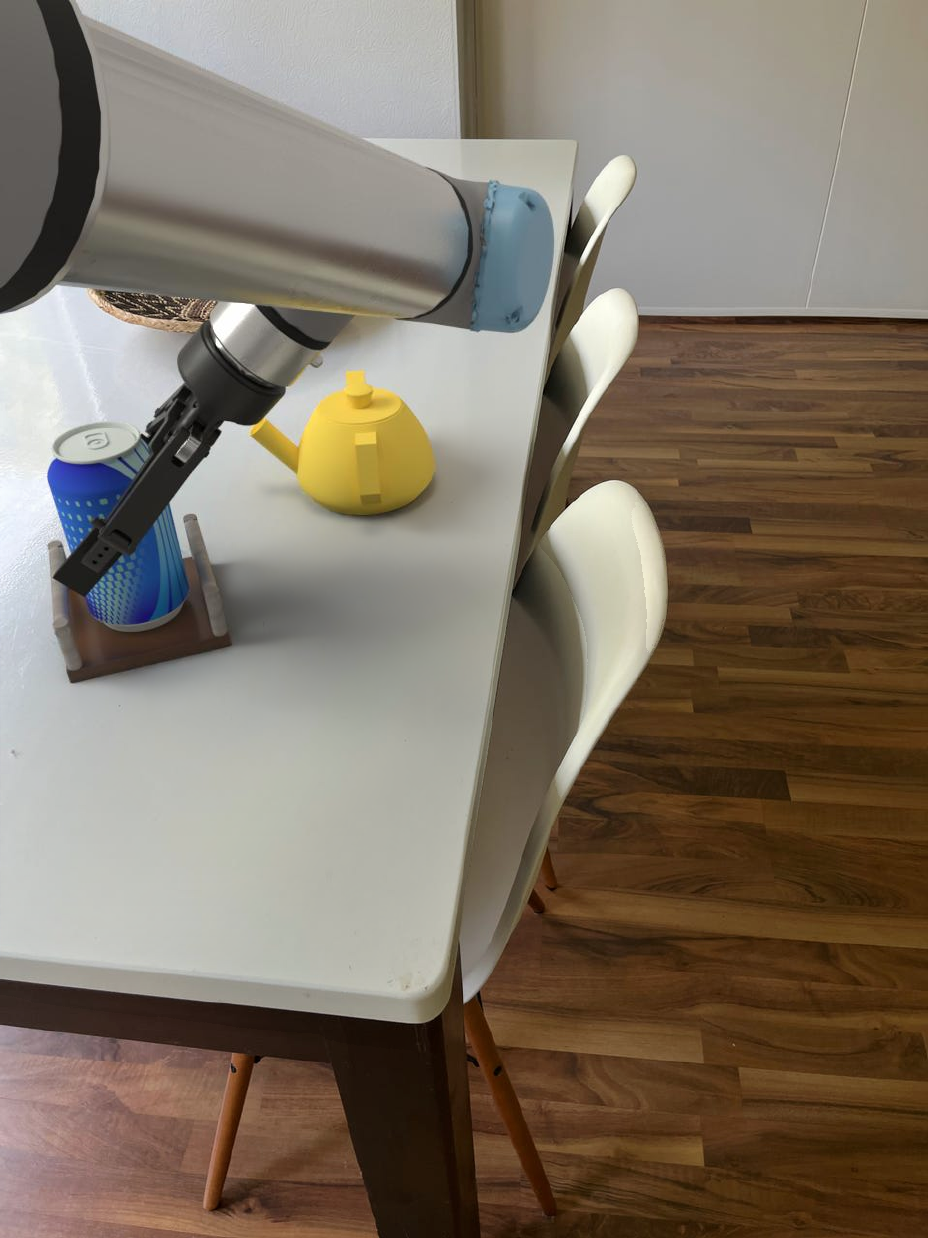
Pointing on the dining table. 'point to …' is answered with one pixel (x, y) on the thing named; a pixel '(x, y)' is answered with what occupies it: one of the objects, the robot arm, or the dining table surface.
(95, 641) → the rail rack
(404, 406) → the teapot
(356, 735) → the dining table surface
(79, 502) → the beer can
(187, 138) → the robot arm
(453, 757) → the dining table surface
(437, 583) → the dining table surface
